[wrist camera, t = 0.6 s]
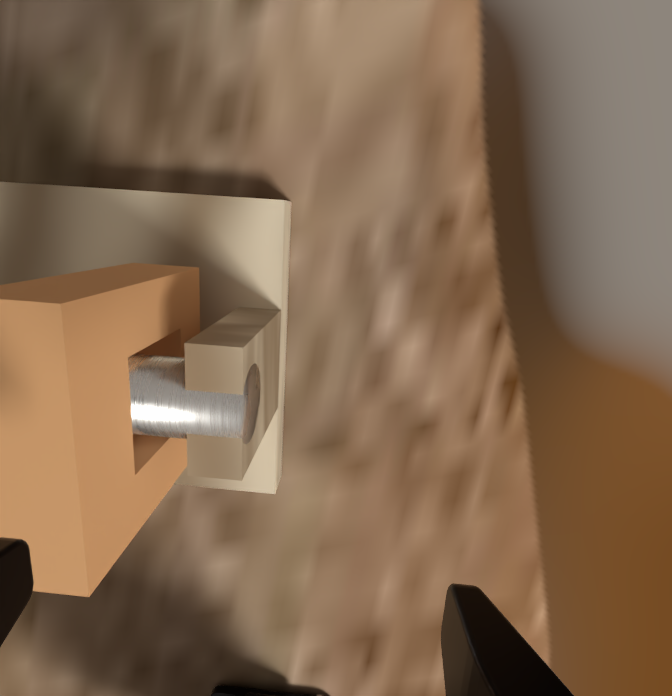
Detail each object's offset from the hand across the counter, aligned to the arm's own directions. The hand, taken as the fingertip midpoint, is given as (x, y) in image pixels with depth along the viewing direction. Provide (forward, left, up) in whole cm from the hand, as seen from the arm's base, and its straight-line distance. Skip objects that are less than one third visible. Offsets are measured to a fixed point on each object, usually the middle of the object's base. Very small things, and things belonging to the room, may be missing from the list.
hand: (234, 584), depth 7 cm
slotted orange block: (0, +5, -10) cm, 12 cm away
